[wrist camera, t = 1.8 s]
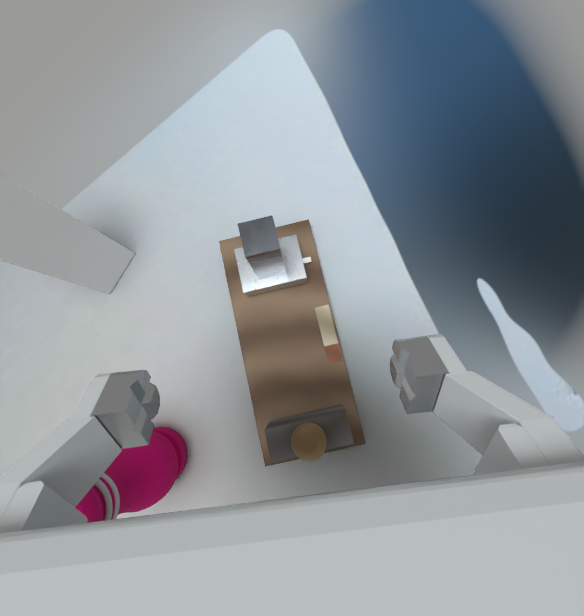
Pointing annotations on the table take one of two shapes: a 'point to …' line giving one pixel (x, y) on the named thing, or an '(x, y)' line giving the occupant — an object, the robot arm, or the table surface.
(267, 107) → the table surface
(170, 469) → the pepper mill
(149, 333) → the table surface
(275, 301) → the base
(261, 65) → the table surface
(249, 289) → the handle
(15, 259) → the milk
